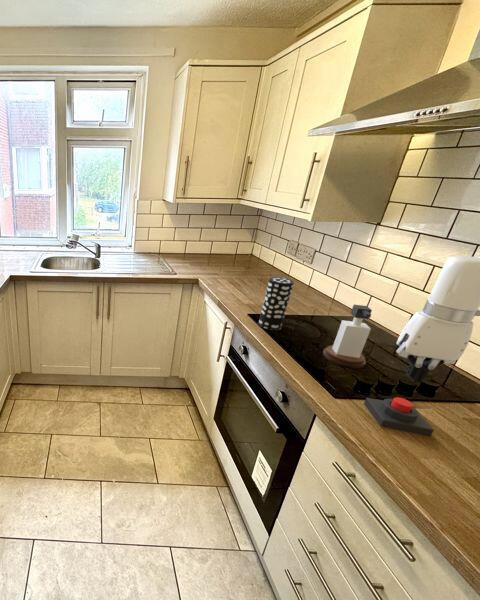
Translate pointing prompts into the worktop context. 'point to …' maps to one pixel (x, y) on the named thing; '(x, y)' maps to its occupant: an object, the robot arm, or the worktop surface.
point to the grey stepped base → (397, 417)
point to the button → (402, 404)
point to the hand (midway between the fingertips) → (413, 379)
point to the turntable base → (342, 363)
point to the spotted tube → (275, 303)
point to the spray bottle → (351, 337)
